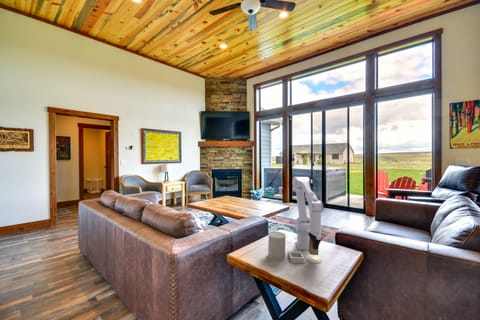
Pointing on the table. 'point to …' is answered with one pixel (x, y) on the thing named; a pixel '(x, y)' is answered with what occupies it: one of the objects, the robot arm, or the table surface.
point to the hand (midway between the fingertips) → (314, 247)
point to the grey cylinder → (276, 246)
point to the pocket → (296, 257)
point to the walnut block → (311, 250)
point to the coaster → (313, 258)
